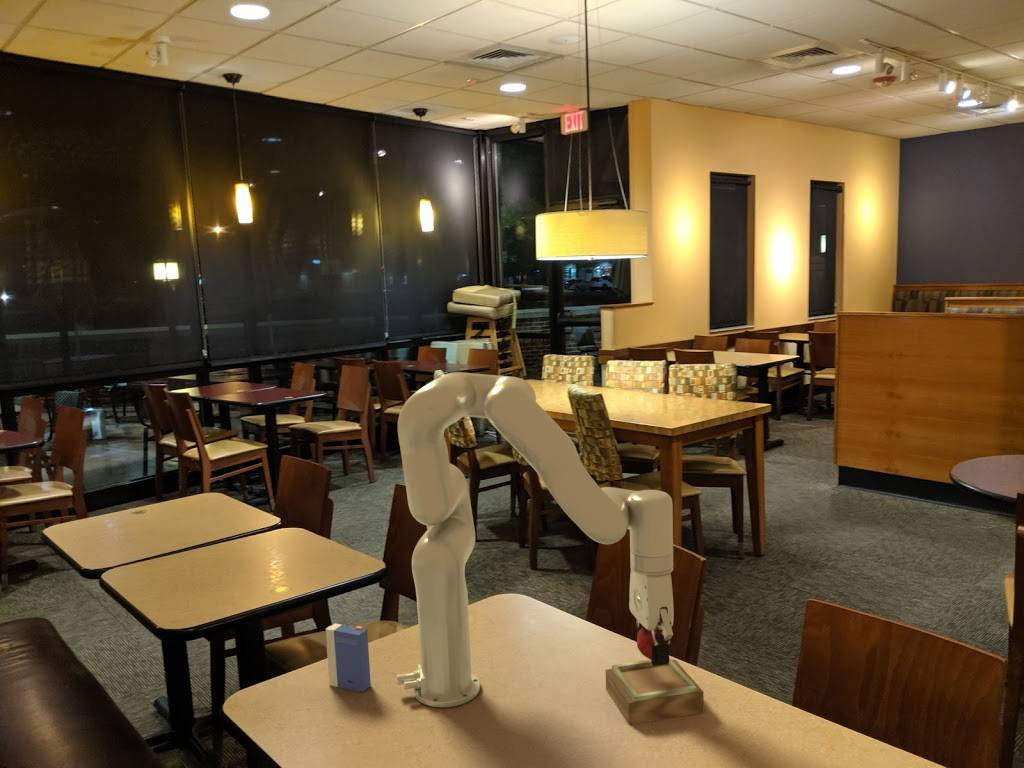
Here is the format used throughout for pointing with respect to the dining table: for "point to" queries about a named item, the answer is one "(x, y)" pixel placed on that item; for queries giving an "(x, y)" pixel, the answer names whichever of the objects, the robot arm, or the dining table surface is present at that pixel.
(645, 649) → the onion
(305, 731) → the dining table surface
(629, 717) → the plinth
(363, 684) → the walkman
